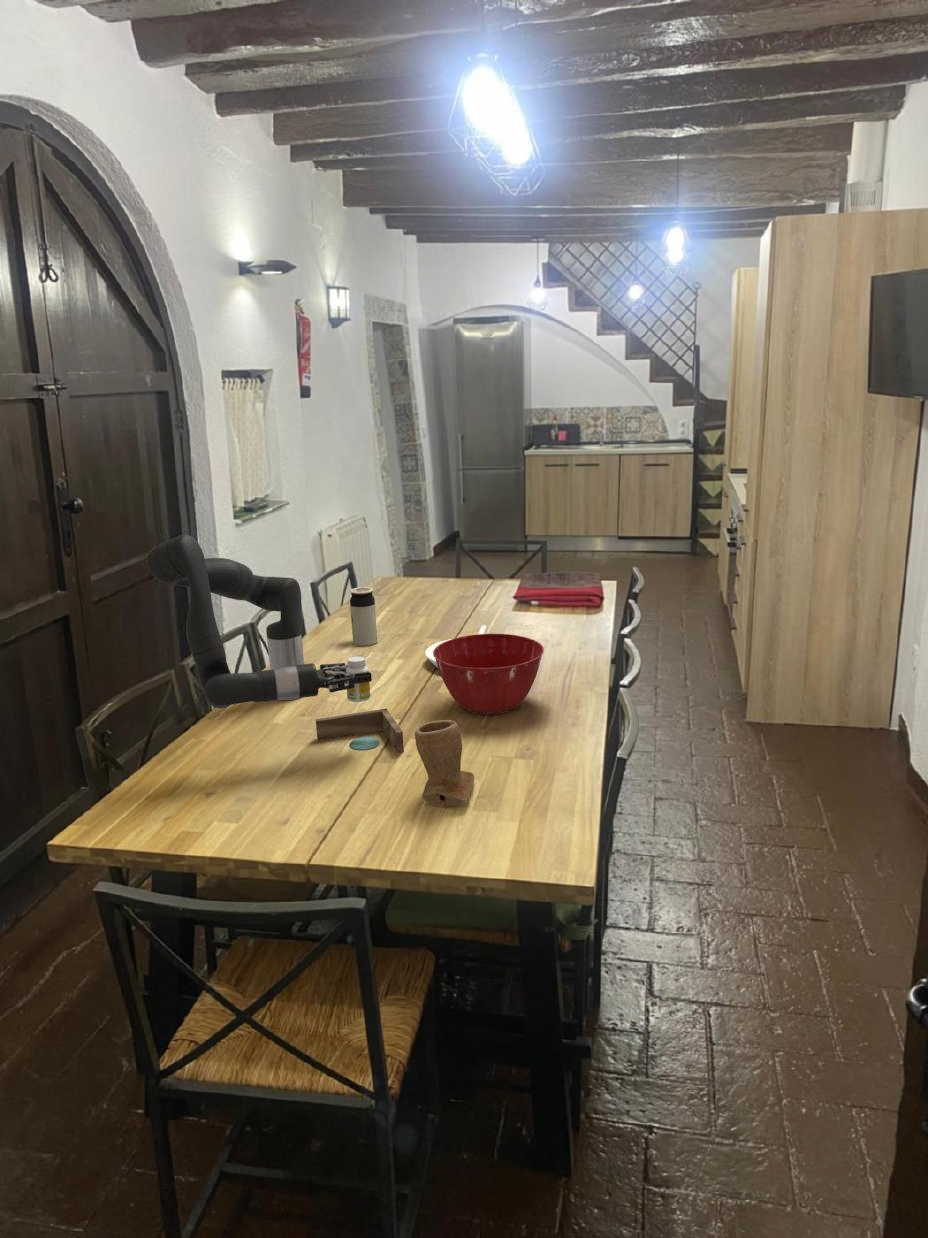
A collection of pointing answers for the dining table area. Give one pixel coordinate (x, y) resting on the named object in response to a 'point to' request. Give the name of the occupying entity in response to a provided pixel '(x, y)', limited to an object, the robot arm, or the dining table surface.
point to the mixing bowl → (489, 670)
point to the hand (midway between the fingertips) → (368, 672)
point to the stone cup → (443, 764)
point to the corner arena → (361, 728)
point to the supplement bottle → (360, 689)
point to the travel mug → (363, 616)
